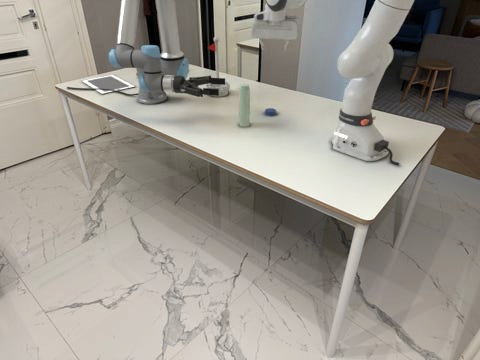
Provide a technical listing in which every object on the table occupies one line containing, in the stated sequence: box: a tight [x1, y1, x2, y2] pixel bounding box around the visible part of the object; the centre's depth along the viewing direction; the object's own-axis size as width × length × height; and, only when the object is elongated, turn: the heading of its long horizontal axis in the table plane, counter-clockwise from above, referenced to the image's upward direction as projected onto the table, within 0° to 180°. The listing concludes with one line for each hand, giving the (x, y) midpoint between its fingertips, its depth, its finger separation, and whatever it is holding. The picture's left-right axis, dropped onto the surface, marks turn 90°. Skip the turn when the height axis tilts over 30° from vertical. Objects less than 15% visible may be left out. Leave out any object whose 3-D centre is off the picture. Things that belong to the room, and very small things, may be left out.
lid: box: [264, 107, 277, 117], centre depth 166 cm, size 5×5×2 cm
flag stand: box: [205, 36, 231, 98], centre depth 183 cm, size 13×13×30 cm
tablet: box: [81, 74, 136, 95], centre depth 206 cm, size 32×20×1 cm, turn 41°
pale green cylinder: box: [238, 83, 251, 128], centre depth 150 cm, size 5×5×19 cm
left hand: (222, 86), depth 147 cm, fingers open, 13 cm apart
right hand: (273, 49), depth 150 cm, fingers open, 8 cm apart
